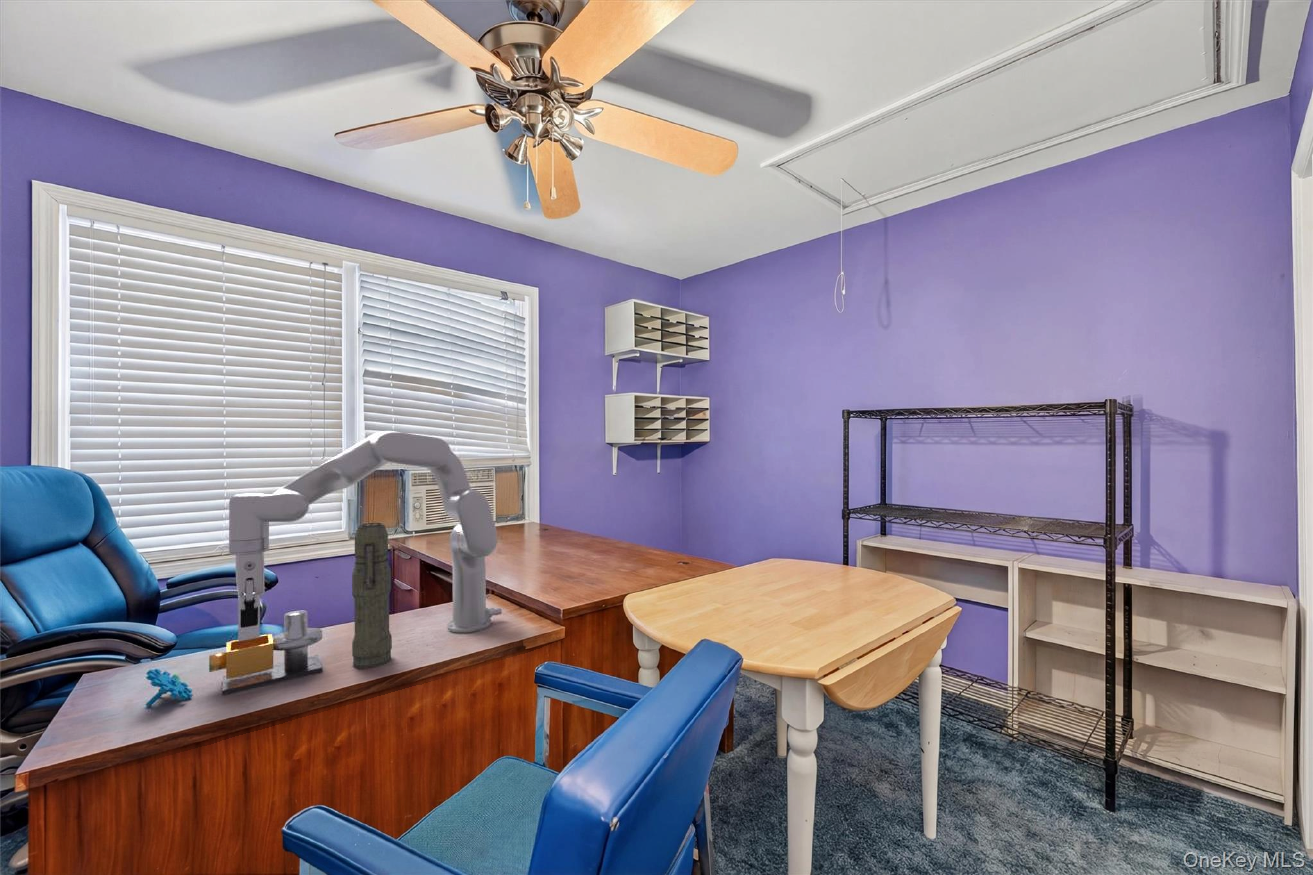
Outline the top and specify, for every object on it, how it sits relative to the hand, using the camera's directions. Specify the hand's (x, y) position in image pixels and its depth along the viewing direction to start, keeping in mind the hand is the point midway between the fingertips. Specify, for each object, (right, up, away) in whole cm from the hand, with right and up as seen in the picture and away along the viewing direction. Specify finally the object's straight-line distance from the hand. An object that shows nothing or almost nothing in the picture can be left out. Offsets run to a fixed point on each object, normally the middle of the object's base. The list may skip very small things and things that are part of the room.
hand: (249, 622), depth 125 cm
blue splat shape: (-10, -14, -9) cm, 20 cm away
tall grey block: (0, -3, 0) cm, 3 cm away
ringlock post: (+3, -14, +2) cm, 14 cm away
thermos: (+23, -14, +10) cm, 29 cm away
